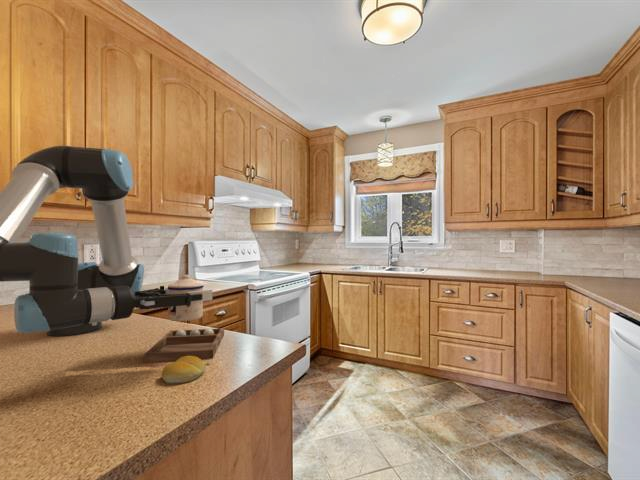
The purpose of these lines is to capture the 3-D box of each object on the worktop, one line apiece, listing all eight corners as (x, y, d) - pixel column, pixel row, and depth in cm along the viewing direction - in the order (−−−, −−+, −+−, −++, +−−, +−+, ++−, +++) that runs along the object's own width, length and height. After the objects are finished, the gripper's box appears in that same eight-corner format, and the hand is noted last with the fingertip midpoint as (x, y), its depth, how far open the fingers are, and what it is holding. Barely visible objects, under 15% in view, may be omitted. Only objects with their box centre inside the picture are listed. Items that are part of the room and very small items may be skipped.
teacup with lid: (165, 316, 88) (165, 274, 89) (200, 313, 93) (200, 273, 93) (170, 326, 78) (170, 278, 78) (208, 321, 83) (209, 276, 83)
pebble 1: (176, 338, 96) (176, 328, 96) (187, 338, 97) (187, 328, 97) (174, 341, 93) (174, 331, 93) (184, 341, 94) (184, 331, 94)
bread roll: (153, 383, 68) (153, 364, 68) (181, 367, 77) (181, 351, 77) (187, 387, 66) (187, 368, 66) (211, 370, 75) (211, 353, 75)
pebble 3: (204, 337, 98) (204, 327, 98) (214, 336, 98) (214, 327, 98) (202, 340, 95) (202, 330, 95) (213, 339, 95) (213, 329, 95)
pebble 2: (190, 338, 97) (190, 328, 97) (201, 337, 98) (201, 327, 98) (188, 341, 94) (188, 330, 94) (199, 340, 95) (199, 330, 95)
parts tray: (170, 340, 98) (170, 330, 98) (224, 337, 101) (224, 328, 101) (144, 366, 77) (144, 353, 77) (213, 361, 80) (213, 349, 80)
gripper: (93, 313, 80) (179, 301, 96) (129, 329, 64) (224, 311, 81) (93, 283, 80) (179, 276, 96) (129, 291, 64) (223, 282, 81)
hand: (199, 292), depth 89 cm, fingers closed on teacup with lid, 12 cm apart
